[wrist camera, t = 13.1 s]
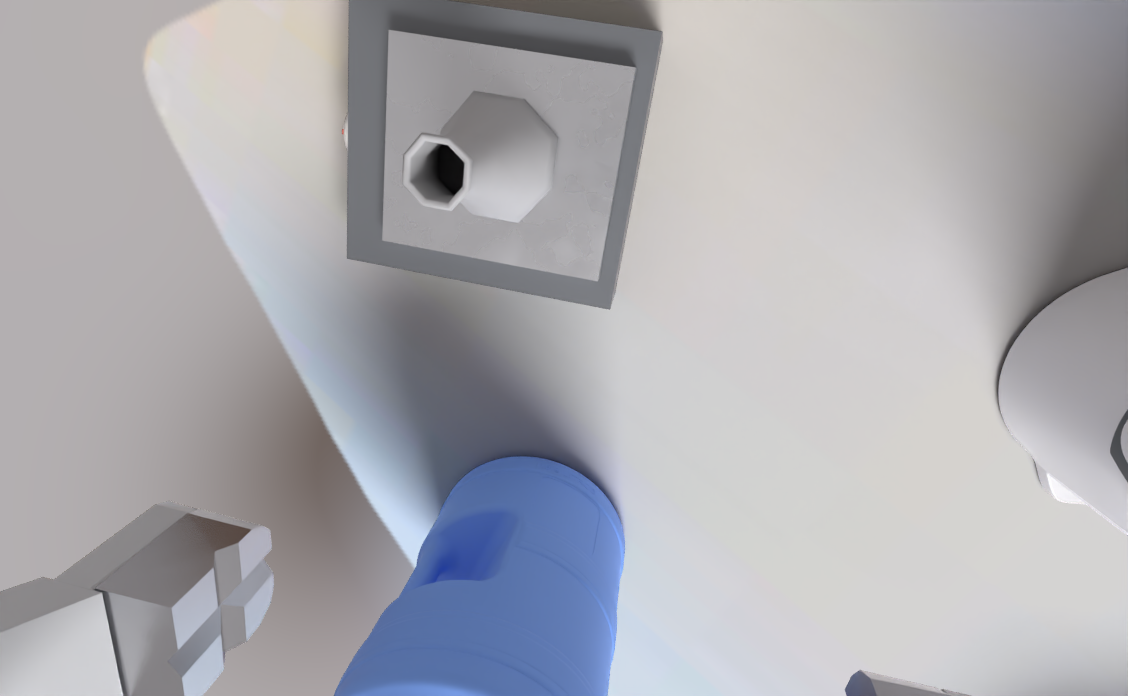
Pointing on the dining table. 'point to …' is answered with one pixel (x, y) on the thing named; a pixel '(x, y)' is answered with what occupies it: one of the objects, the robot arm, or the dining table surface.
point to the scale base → (427, 10)
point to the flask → (484, 159)
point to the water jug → (504, 592)
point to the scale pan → (567, 106)
